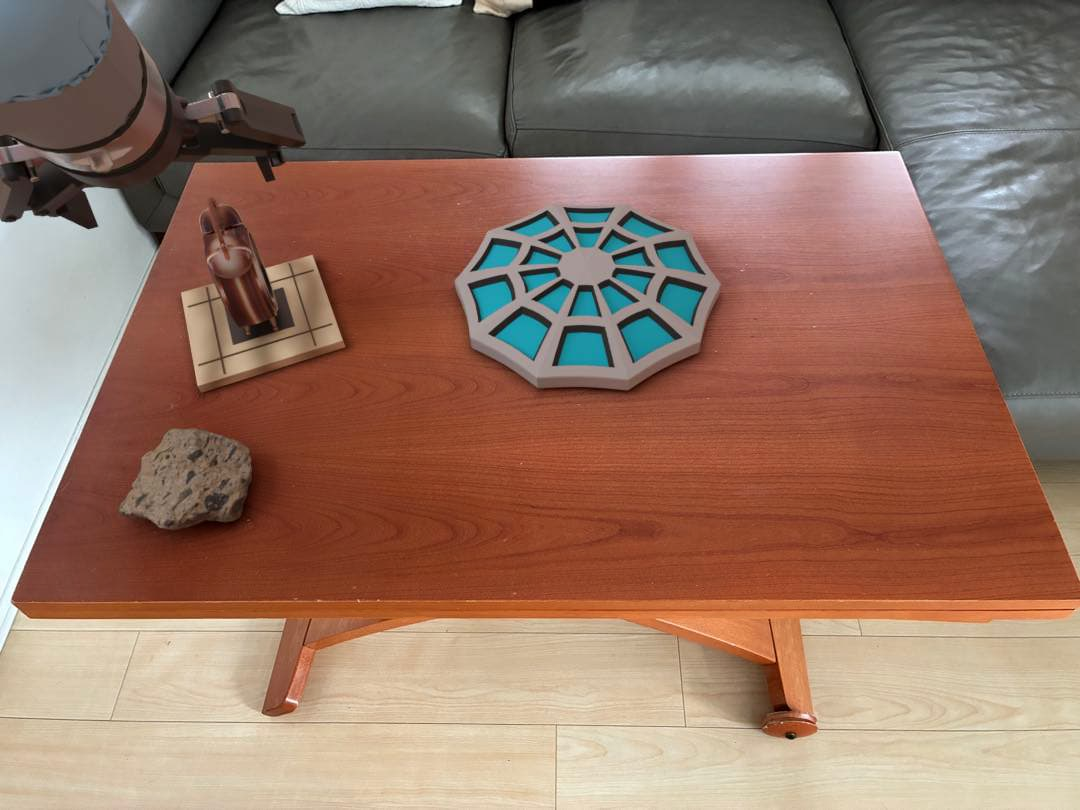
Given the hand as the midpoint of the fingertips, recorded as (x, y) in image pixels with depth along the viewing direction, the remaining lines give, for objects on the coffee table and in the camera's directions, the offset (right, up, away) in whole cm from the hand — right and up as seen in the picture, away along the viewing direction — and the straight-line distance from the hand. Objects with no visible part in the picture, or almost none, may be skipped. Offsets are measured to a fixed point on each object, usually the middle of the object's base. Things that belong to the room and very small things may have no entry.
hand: (178, 187), depth 60 cm
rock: (-5, -26, +15) cm, 31 cm away
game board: (-4, -7, +30) cm, 31 cm away
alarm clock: (-4, -7, +29) cm, 30 cm away
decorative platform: (+34, -4, +30) cm, 46 cm away
